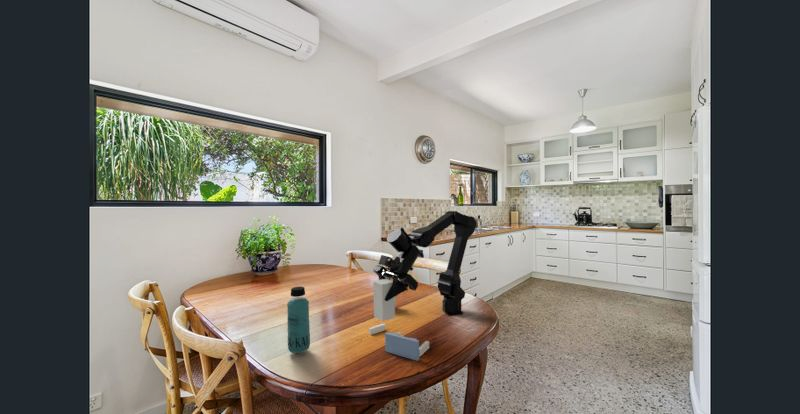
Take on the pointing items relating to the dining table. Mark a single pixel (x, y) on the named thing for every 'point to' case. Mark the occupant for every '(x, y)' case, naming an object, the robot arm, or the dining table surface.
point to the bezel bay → (404, 346)
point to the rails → (379, 329)
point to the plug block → (383, 300)
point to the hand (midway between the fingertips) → (380, 298)
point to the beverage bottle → (298, 321)
